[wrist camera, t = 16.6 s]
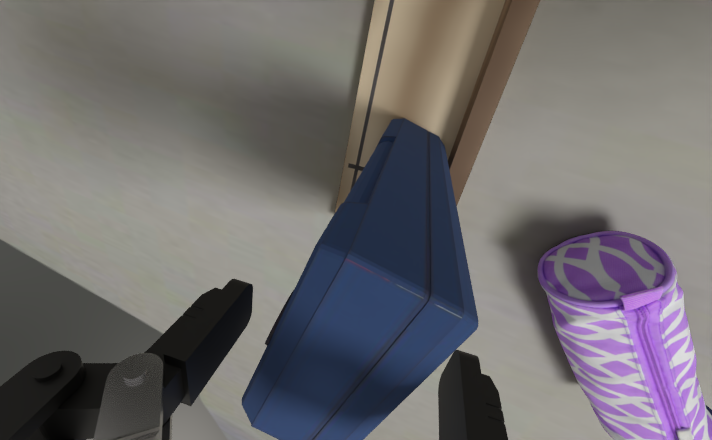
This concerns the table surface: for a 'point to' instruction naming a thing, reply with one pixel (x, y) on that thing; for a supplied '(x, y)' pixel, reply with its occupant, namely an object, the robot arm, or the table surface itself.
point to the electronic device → (370, 300)
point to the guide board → (435, 76)
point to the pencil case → (626, 335)
